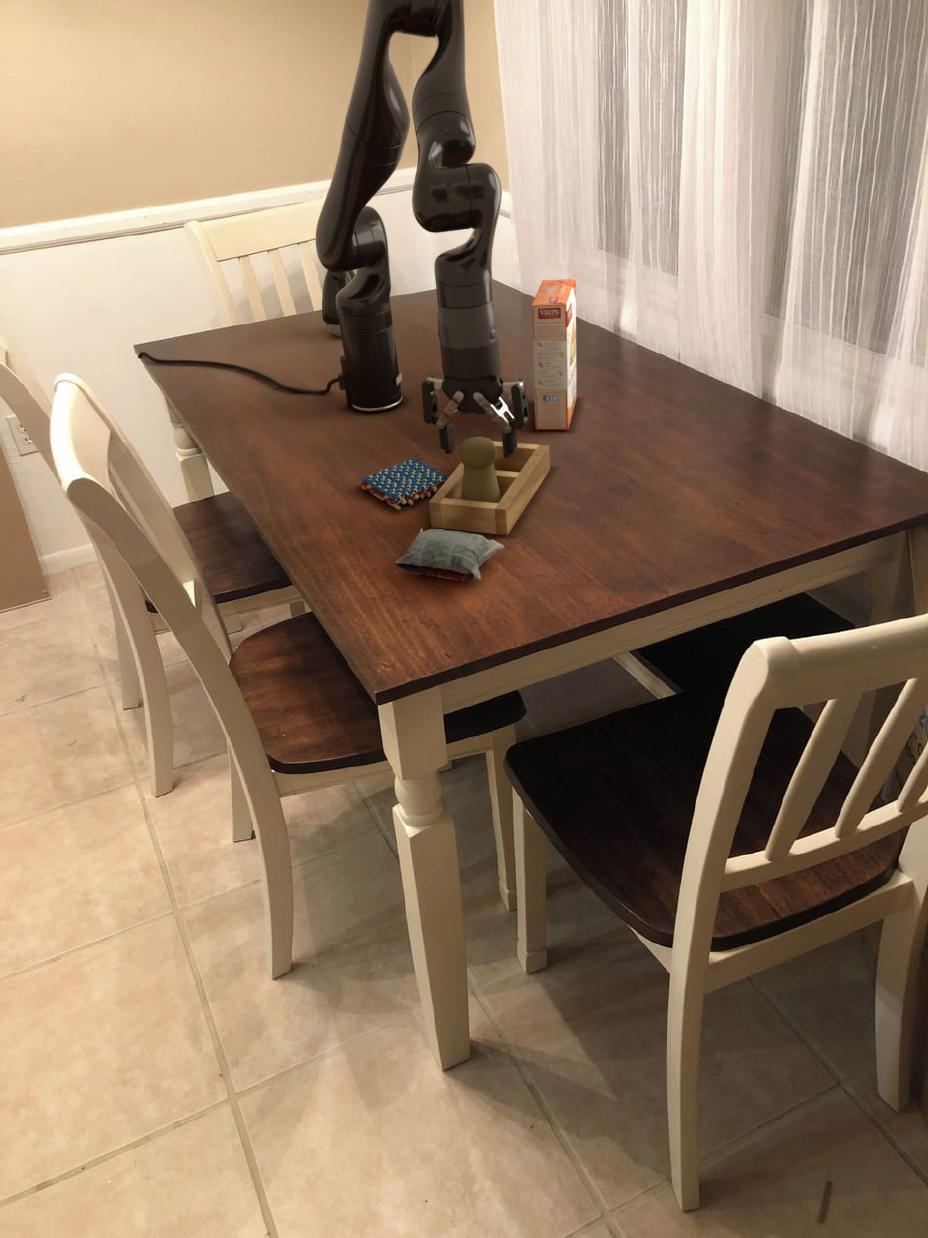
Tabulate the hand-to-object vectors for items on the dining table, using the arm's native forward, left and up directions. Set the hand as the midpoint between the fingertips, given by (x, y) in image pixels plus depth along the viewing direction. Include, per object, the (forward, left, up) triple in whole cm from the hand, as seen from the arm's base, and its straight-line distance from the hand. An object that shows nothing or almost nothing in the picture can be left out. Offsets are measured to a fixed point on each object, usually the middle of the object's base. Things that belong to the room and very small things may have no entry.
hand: (478, 453), depth 130 cm
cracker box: (+1, +36, -9) cm, 37 cm away
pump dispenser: (-57, +73, -9) cm, 93 cm away
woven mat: (-14, +5, -9) cm, 18 cm away
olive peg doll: (0, 0, -9) cm, 9 cm away
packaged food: (+1, -15, -9) cm, 18 cm away
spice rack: (0, +5, -9) cm, 10 cm away
